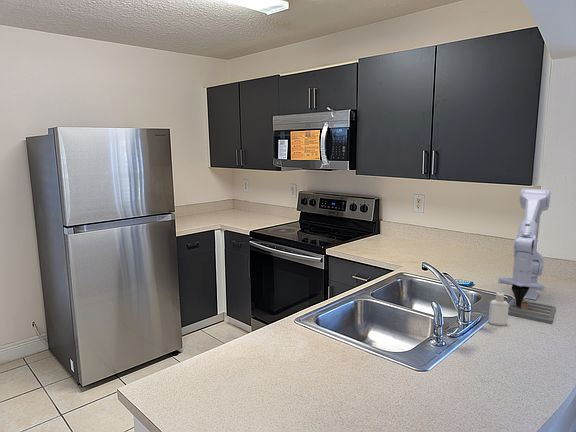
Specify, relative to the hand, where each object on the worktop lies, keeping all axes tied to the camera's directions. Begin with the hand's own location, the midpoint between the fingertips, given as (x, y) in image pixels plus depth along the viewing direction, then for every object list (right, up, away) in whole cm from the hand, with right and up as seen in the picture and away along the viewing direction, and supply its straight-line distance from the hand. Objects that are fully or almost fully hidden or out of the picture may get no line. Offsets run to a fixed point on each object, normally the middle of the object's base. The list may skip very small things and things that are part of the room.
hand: (518, 305), depth 149 cm
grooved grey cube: (+4, 0, +6) cm, 7 cm away
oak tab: (+2, -1, -1) cm, 2 cm away
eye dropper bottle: (-12, -4, -9) cm, 16 cm away
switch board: (+5, -3, +1) cm, 6 cm away
